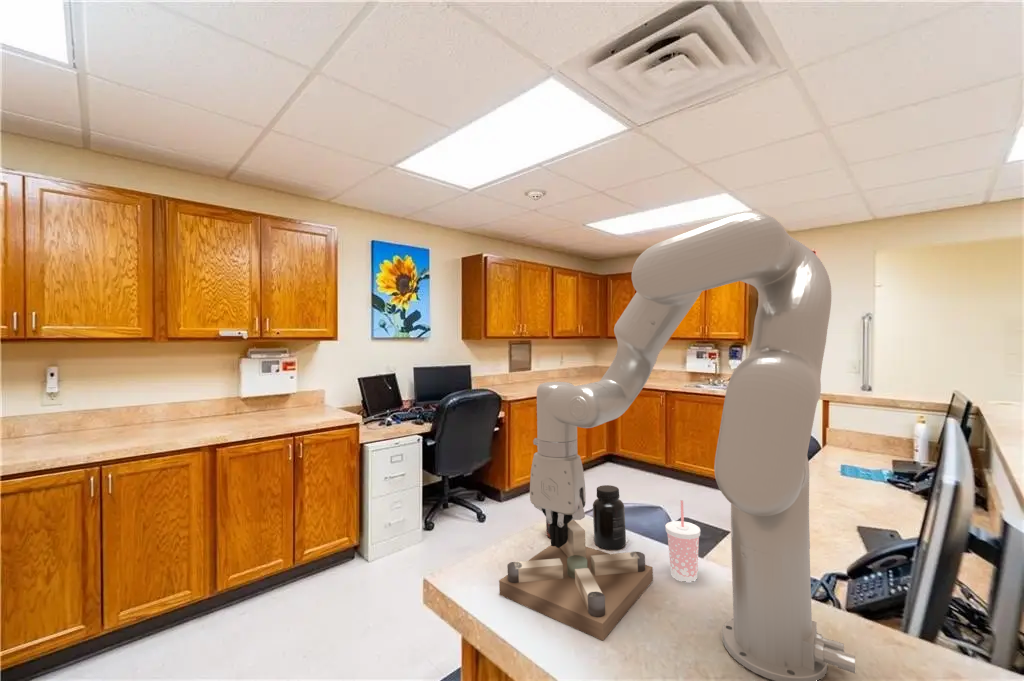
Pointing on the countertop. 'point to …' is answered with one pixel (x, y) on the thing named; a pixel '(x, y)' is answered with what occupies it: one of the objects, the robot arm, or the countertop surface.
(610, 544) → the supplement bottle
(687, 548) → the beverage cup
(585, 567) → the stool seat
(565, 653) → the countertop surface
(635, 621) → the countertop surface
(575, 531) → the hinged leg
